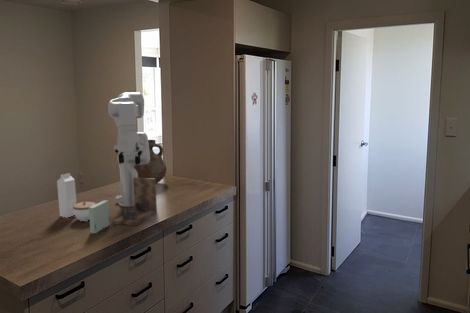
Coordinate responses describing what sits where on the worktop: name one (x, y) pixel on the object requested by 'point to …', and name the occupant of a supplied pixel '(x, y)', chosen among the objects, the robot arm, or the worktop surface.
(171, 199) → the worktop surface
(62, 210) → the milk
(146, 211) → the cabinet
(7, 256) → the worktop surface
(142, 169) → the jug
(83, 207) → the lidded jar
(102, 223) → the door
